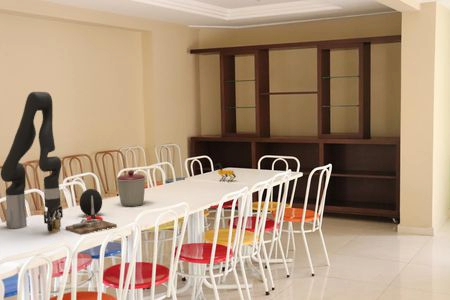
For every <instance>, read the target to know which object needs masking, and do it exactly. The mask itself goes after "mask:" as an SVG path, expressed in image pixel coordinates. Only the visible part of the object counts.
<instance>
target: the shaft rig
mask: <svg viewBox="0 0 450 300" xmlns="http://www.w3.org/2000/svg"><path fill="white" fill-rule="evenodd" d="M112 227H115V228H118V227H117V223H113V222H110V221H107V220H106V221H105V220H98V219H91V220H87V218H86V219H85V218H82V220H81V221H80V223H75V224H71V225H67V226H65V230H66V231H69V232H72V233H75V234H78V235H80V236H81V235H86V234H91V233H95V232H94V231H96V232H99V231H98V230H101V231H103V230H102V229H106V230H108V229H107V228H111V229H113V228H112ZM90 232H91V233H90Z"/></svg>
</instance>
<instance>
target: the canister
mask: <svg viewBox="0 0 450 300" xmlns="http://www.w3.org/2000/svg"><path fill="white" fill-rule="evenodd" d="M146 179H147V176H145V175H144V174H138V173H135V172H134V171H133V170H132V169H131V170H128V172H127V174H123V175H119V176H117V177H116V178H115V180H116V183H117V190H118V194H119V195H118V196H119V200H120V203H121V205H122V206H124V207H136V206H137V207H138V206H141V205H143V203H144V200H145V187H146Z"/></svg>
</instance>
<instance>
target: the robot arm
mask: <svg viewBox="0 0 450 300" xmlns="http://www.w3.org/2000/svg"><path fill="white" fill-rule="evenodd" d="M26 97H27V98H26V101H25V105H24V109H23V112H22V116H21V119H20V122H19V124H18V128H17V130H16V133H15V135H14V138H13V140H12V141H13V142H12V144H11V147H10V149H9V152H8V154H7V156H6V158H5V161H3V164H2V166H1V169H0V178H1V180H2V181H3V182H6V183H11V184H10V185H9V186H8V187H6V188H5V199H6V200H5V203H6V208H5V210H4V211H5V220H6V221H5V222H6V223H5V224H6V228H9V229H21V228H24V227H27V226H28V223H27V207H26V194H25V189H26V187H27V186H26V185H27V184H26V169H25V166H24V164H22V163H21V162H20V161H21V159H22V158H23V157H24V156H25V155H26V154H27V153H28V152H29V150H30V149H31V148H32V146H33V144H34V141H35V139H36V135H37V131H36V130H37V129H36V126H35V122H34V120H35V117H36V114H37V112H39V111H41V114H42V121H41V126H40V128H39V131H38V143H39V152H40V153H39V161H38V166H39V170H40V171H41V172H43V173H49V172H51V173H50V174H49V175H47V176H45V177H43V188H44V190H43V196H44V197H43V198H44V207H45V208H47V210H46V211H43V220H44V221H43V223H44V224H46V225H47V227H46V228H47V232H49V231H50V232H51V231H52V221H53V220H54V219H59V221H60V228H61V220H62V219H63V217H64V215H63V206H62V205H61V191H60V181H59V180H60V175H61V169H62V161H61V159H60V157H59V156H57V155H55V156H54V155H53V156H48V155H49V154H50V153H51V152H54V151H55V150H56V145H55V139H54V131H53V117H54V115H53V109H54V108H53V98H52V96H51V94H50V93H49V92H47V91H32V92H30V93H28V95H27V96H26Z"/></svg>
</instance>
